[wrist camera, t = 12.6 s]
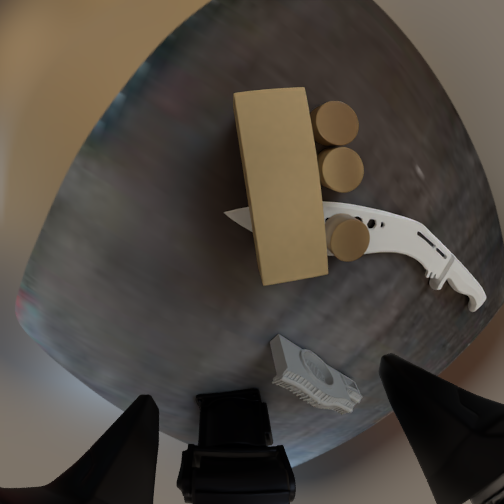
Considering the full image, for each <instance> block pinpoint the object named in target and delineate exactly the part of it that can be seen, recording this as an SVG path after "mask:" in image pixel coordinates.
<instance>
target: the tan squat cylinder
mask: <svg viewBox="0 0 504 504" xmlns="http://www.w3.org/2000/svg"><path fill="white" fill-rule="evenodd" d="M325 233H326V246H327V249H328V250H329V251H330V252H331V253H332V254H333V255H334V256H335V257H336V258H338V259H339V260H341V261H346V262H349V261H354V260H356V259H358V258H360V257H361V256H362V255H363V254H364V253H365V252H366V250H367V248H368V246H369V242H370V234H369V230H368V228H367V226H366V225H365V224H364V223H363V222H362V221H360V220H358V219H356V218H354V217H352V216H351V215H349V214H345V213H339V214H335V215H333V216H331V217H330V218H329V219H328V220H327V221H326V222H325Z"/></svg>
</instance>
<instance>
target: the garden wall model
mask: <svg viewBox="0 0 504 504" xmlns="http://www.w3.org/2000/svg"><path fill="white" fill-rule="evenodd" d="M270 346H271V351H272V355H273V360H274V365H275V369H276V374H277V375H276V376H275V377H274V378H273V380H274V381H273V382H272V384H274V383H276V382H278V383H276V385H279V386H282V387H283V388H284V387H285V388H286V389H288V388H291V389H290V390H289V391H293V390H294V392H293V394H294V393H298V394H296V396H299V395H301V396H302V397H300V398H299V399H303V398H304V399H303V401H305V400H307V401H308V402H307V404H309V403H311V406H314V407H317V408H322V409H331V410H332V409H333V410H336V412H337V411H339V412H338V413H341V412H342V413H341V415H342V414H345V413H347V412H349V413H351V412H352V411H353V409H352V408H353V407H354V406H355V404H357V403H359V402H360V400H361V398H362V397H363V396H362V395H361V394H359V392H360V391H359V389H358V387H357V386H356V384H355V382H354V381H353V380H352V379H350V378H348V377H346V376H345V375H343V374H341V373H340V372H338V371H337V370H335V369H333V368H332V367H330V366H328V365H327V364H325V363H324V362H323V360H322V359H321V358H319V357H318V356H317V355H316V354H315V353H313V352H312V351H310V350H307V349H304V350H303V349H301V348H300V347H298V346H297V345H295V344H293V343H292V342H290V341H289V340H287V339H286V338H284V337H283V336H281V335H280V334H278V335H277V336H276V337H275V338H274V339H272V340H271V341H270ZM286 386H287V387H286ZM356 402H357V403H356ZM337 409H338V410H337Z"/></svg>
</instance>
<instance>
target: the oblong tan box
mask: <svg viewBox="0 0 504 504" xmlns="http://www.w3.org/2000/svg"><path fill="white" fill-rule="evenodd" d="M233 110H234V116H235V122H236V128H237V135H238V141H239V147H240V154H241V160H242V167H243V173H244V179H245V186H246V192H247V199H248V205H249V212H250V218H251V224H252V231H253V237H254V244H255V250H256V257H257V264H258V269H259V272H260V276H261V280H262V283H263V286H267V285H272V284H278V283H284V282H289V281H295V280H300V279H306V278H311V277H316V276H322V275H327V274H328V260H327V246H326V233H325V222H324V212H323V202H322V194H321V185H320V177H319V170H318V162H317V156H316V149H315V142H314V136H313V130H312V124H311V118H310V113H309V108H308V102H307V97H306V92H305V88H304V87H296V88H278V89H265V90H255V91H246V92H238V93H234V95H233Z"/></svg>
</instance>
